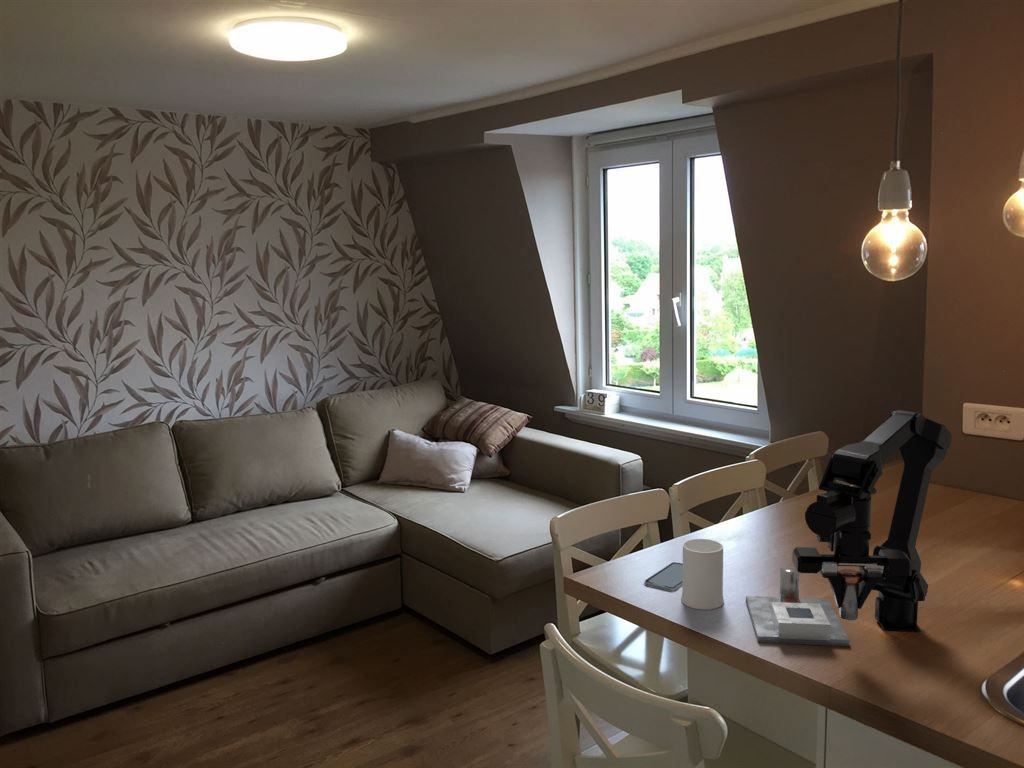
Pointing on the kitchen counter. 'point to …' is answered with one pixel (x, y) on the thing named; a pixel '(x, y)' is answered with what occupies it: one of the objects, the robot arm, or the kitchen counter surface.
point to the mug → (702, 574)
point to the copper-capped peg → (849, 593)
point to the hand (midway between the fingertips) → (848, 607)
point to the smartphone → (667, 577)
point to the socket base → (795, 616)
